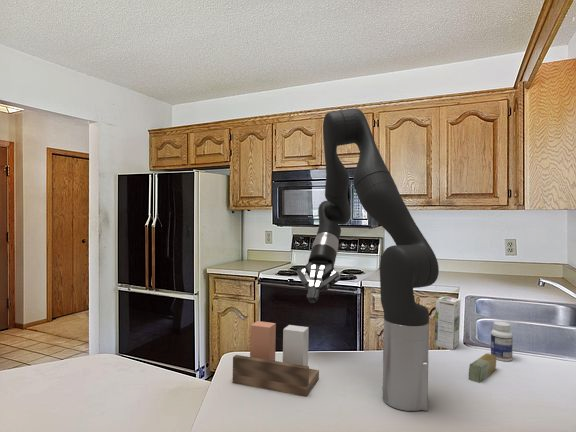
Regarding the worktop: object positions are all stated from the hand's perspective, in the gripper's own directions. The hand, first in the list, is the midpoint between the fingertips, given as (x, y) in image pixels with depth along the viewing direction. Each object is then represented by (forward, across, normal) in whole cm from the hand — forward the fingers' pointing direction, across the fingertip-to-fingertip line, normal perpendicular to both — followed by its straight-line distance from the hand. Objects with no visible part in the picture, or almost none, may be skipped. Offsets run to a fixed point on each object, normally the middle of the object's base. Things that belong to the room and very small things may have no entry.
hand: (311, 301), depth 104 cm
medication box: (+5, +43, +18) cm, 47 cm away
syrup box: (-9, +35, +32) cm, 48 cm away
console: (+22, -4, +2) cm, 22 cm away
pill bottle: (-5, +49, +28) cm, 57 cm away
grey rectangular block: (+19, 0, +1) cm, 19 cm away
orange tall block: (+19, -8, +1) cm, 20 cm away
